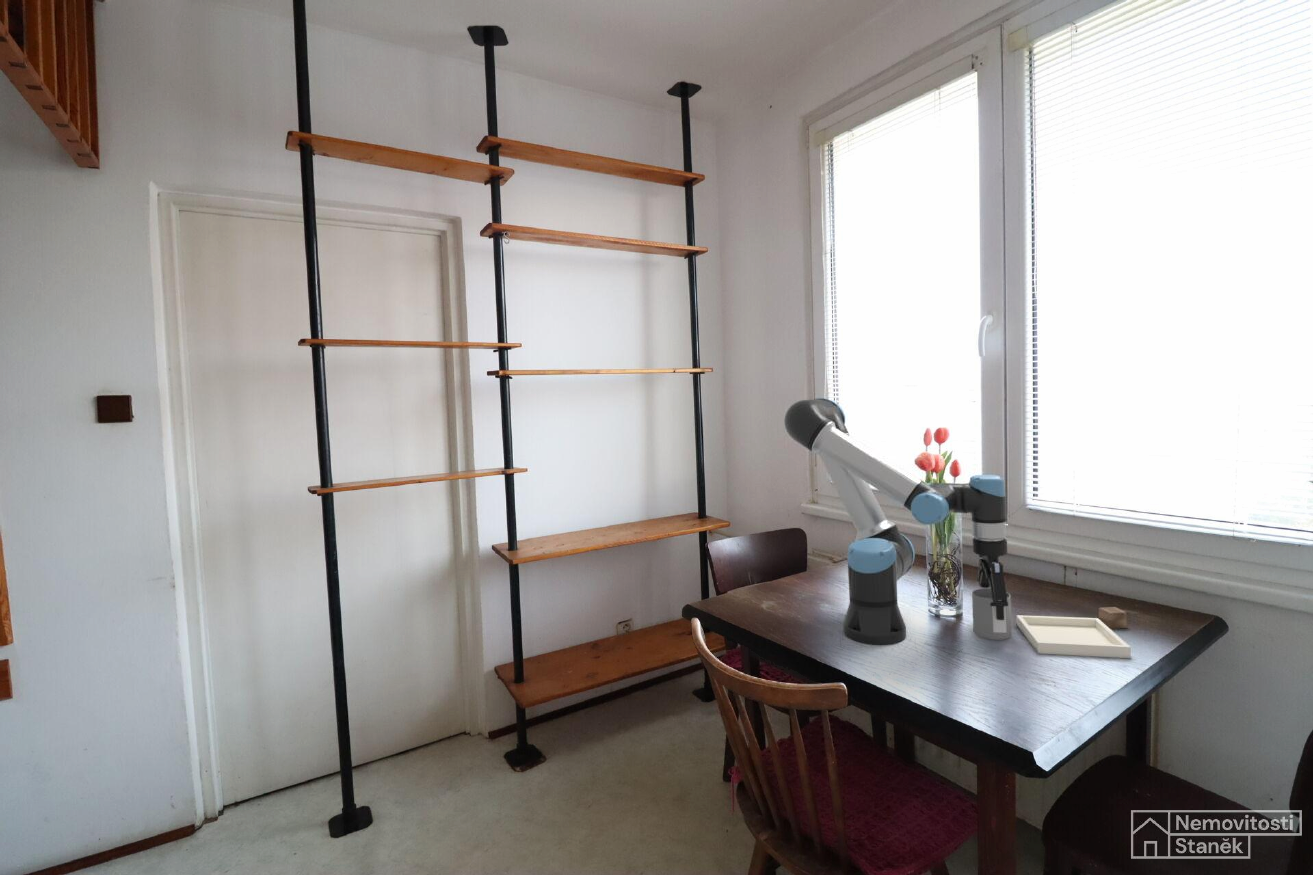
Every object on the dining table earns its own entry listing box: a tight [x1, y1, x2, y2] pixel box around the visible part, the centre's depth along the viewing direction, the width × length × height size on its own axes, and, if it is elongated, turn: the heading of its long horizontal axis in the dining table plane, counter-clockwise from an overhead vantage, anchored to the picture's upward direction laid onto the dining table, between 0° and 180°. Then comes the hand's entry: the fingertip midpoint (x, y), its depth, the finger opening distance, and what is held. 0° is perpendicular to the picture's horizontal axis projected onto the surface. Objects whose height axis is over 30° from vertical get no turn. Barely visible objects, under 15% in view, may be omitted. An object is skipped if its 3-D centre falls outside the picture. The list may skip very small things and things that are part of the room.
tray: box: [1016, 614, 1132, 659], centre depth 147 cm, size 18×18×2 cm
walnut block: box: [1098, 606, 1128, 630], centre depth 154 cm, size 4×4×4 cm
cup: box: [971, 588, 1013, 641], centre depth 154 cm, size 8×8×10 cm
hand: (993, 621), depth 154 cm, fingers open, 13 cm apart
